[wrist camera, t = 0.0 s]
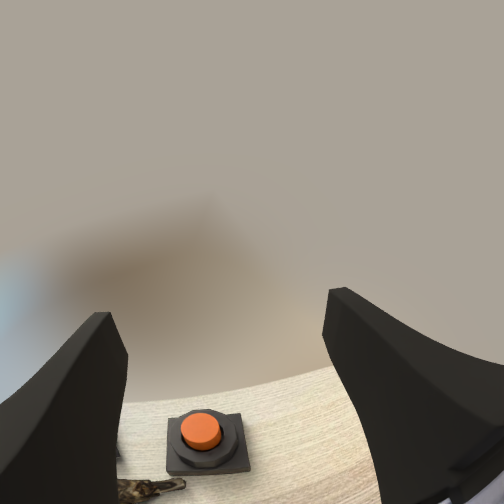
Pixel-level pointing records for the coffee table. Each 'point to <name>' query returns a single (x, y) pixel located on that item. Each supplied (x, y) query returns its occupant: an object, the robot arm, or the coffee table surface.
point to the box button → (201, 431)
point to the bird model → (145, 489)
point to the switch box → (209, 461)
